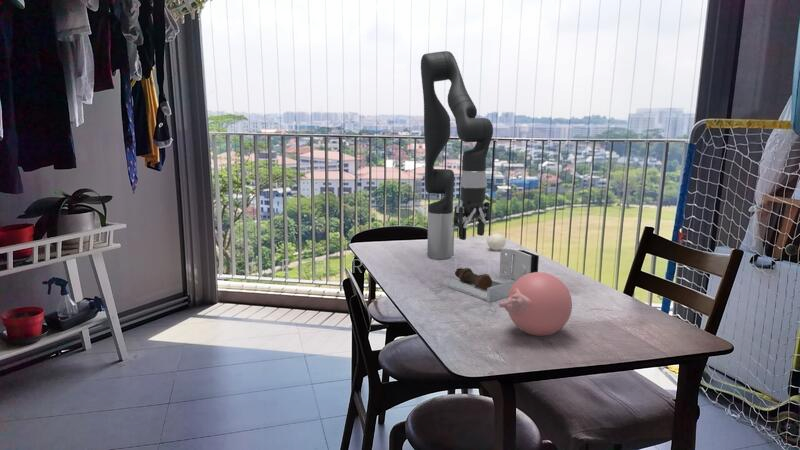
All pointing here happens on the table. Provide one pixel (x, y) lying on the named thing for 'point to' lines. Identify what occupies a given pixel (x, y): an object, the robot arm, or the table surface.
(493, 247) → the white ball
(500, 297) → the tray
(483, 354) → the table surface
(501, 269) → the hinge
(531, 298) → the balloon
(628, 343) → the table surface
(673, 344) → the table surface
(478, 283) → the bolt
